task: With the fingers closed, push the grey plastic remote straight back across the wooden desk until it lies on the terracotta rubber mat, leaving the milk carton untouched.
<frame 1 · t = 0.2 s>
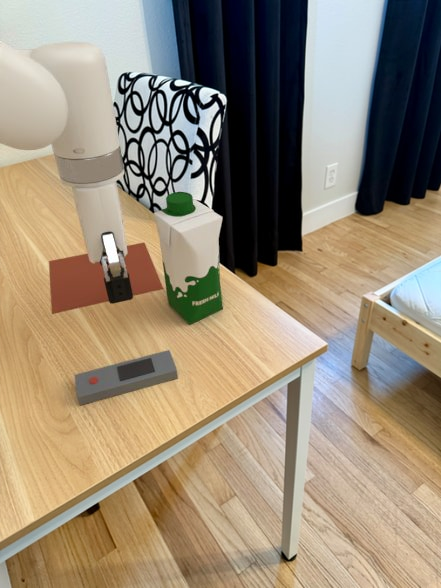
hand: (116, 280, 61), 12 cm above the table, tool pointing down, fingers open, 9 cm apart
milk carton: (195, 307, 76), on the table
remote: (127, 380, 62), on the table
mat: (103, 274, 84), on the table
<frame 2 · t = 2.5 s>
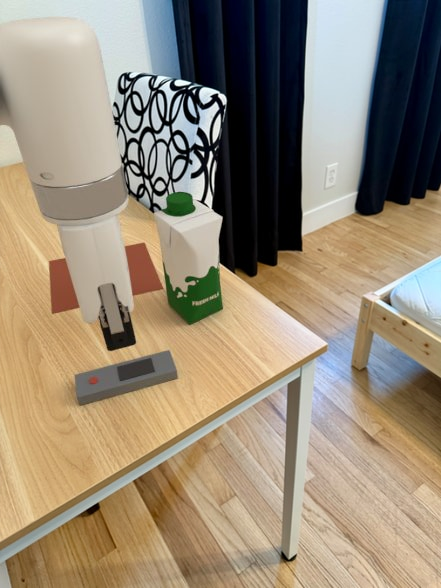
hand: (121, 343, 48), 14 cm above the table, tool pointing down, fingers closed
nothing on the table moved.
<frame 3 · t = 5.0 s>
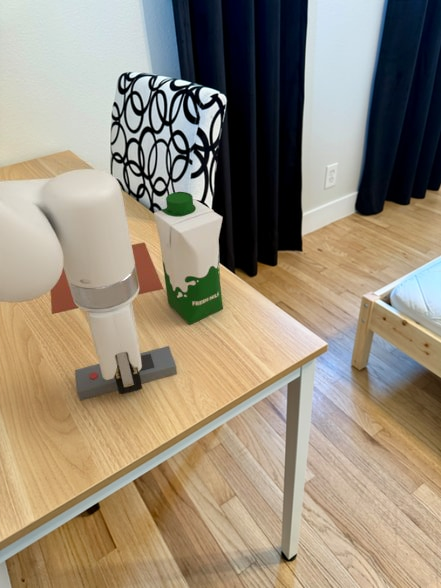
hand: (130, 387, 60), 1 cm above the table, tool pointing down, fingers closed
remote: (127, 376, 63), on the table, touching gripper
everything else where it was.
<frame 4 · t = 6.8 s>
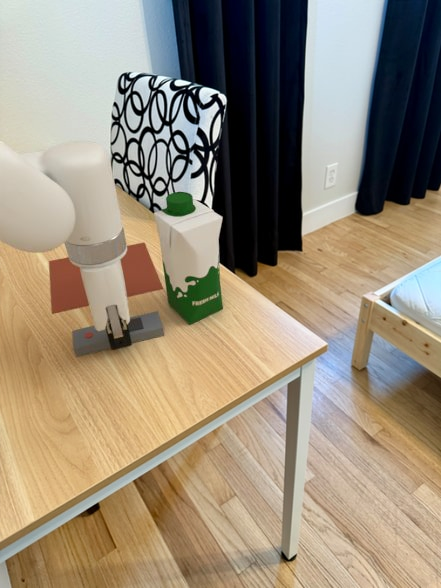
hand: (121, 344, 67), 1 cm above the table, tool pointing down, fingers closed
remote: (119, 337, 70), on the table, touching gripper
everything else where it was.
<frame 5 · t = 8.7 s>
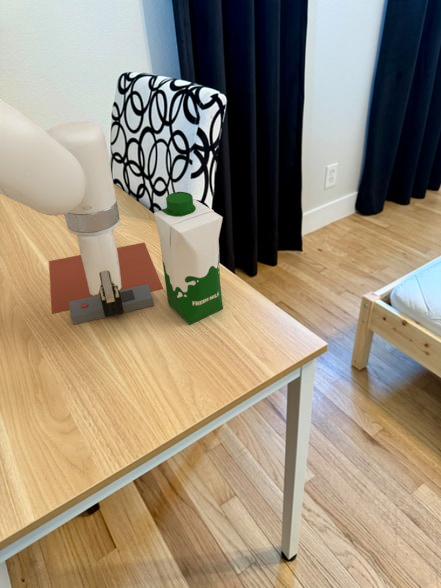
hand: (114, 312, 73), 1 cm above the table, tool pointing down, fingers closed
remote: (112, 307, 76), on the table, touching gripper, mat
everything else where it was.
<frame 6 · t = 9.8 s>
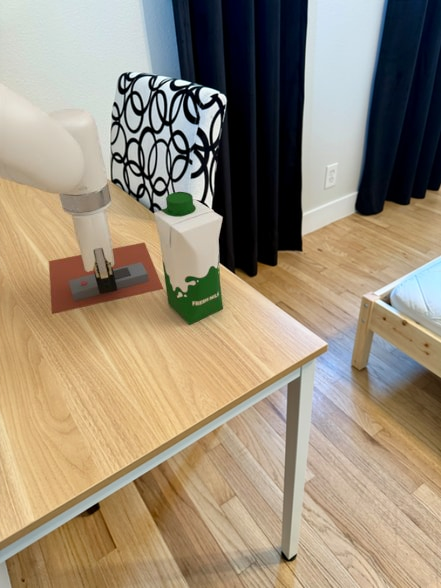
hand: (108, 289, 78), 1 cm above the table, tool pointing down, fingers closed
remote: (110, 284, 81), on the table, touching gripper, mat
everything else where it was.
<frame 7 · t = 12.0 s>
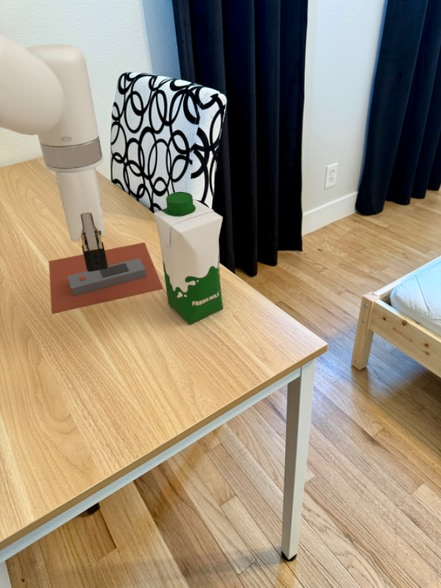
hand: (97, 267, 68), 10 cm above the table, tool pointing down, fingers closed
remote: (108, 280, 83), on the table, touching mat
everything else where it was.
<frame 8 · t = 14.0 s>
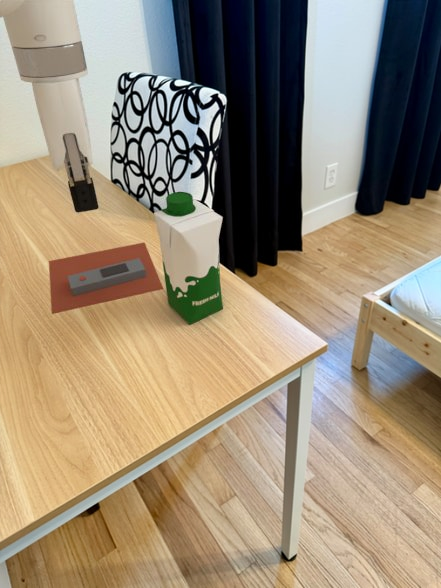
hand: (86, 208, 60), 21 cm above the table, tool pointing down, fingers closed
nothing on the table moved.
at the end: remote inside the target area on the mat (2.6 cm from its centre), point 0.0 cm above the mat's base; remote tilted 0°; milk carton moved 0.2 cm from its start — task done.
